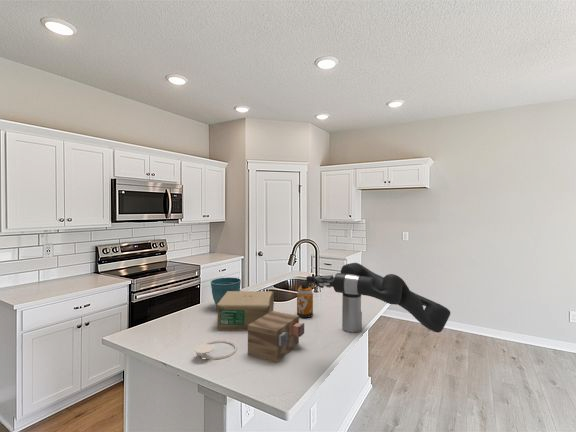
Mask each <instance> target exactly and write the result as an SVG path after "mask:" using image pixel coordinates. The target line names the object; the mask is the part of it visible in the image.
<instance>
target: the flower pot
mask: <svg viewBox="0 0 576 432" xmlns="http://www.w3.org/2000/svg"><path fill="white" fill-rule="evenodd" d="M241 282H242V279H241V278H238V277H233V276H232V277H231V276H230V277H219V278H214V279H211V281H210V288H211V295H212V298H213V299H212V300H213V301H214V305H215V308H216V310H217V304H218V303H219V301H220V300H221V299H222V298H223V296H224V295H225V294H226V292H227V291H241Z"/></svg>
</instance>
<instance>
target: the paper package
mask: <svg viewBox="0 0 576 432" xmlns="http://www.w3.org/2000/svg"><path fill="white" fill-rule="evenodd" d="M274 304H275V292H274V291H265V290H262V291H261V290H260V291H259V290H258V291H257V290H256V291H255V290H252V291H251V290H250V291H249V290H240V291H227V292H226V294H225V295H224V296H223V298H222V299H221V300H220V301H219V303H218V304H217V309H216V311H217V312H216V313H217V331H248V325H249V324H250V323H252V322H254V321H256V320H257V319H259V318H261V317H262V316H264V315H266V314H268V313H269V312H271V311H274V306H275V305H274Z"/></svg>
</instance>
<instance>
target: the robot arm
mask: <svg viewBox="0 0 576 432" xmlns="http://www.w3.org/2000/svg"><path fill="white" fill-rule="evenodd" d="M305 280H306V281H307V282H311V284H312V283H314V286H317V287H319V288H320V289H324V288H325V287H326V288H331V287H332V288H333V290H334V291H335V293H338V294H339V293H340V294H342V297H341V298H342V299H341V301H342V303H341V304H342V309H341V310H342V311H341V312H342V317H341V319H342V321H341V324H342V325H341V327H342V330H343V331H345V332H348V333H358V332H362V331H363V328H362V327H363V311H362V296H367V297H371V298H375V299H377V300H379V301H382V302H384V303H386V304H388V305H397V306H399V307H401V308H403V310H405V311H407V312H408V313H409V314H411V315H412V317H413V318H414V319H416V321H418V322H419V324H421V325H422V326H423V327H425V328H426V329H428V330H430V331H432V332H434V333H439V334H440V333H441V332H442V331H443V330H444V328H445V326H446V324H447V323H448V320H449V318H450V317H451V311H450V309H449V308H447V307H446V306H444V305H442V304H440V303H438V302H436V301H434V300H431V299H428V298H427V297H424V296H422V295H419V294H417V293H415V292H413V291H412V290H411V289H410V287H409V286H408V285H407V283H406V282H405V281H404V279H403V278H402V277H400V276H399V275H397V274H394V273H389V274H386V275H385V276H384V277H383V276H381V275H379V274H377V273H375V272H374V271H372V270H370V269H369V268H367V267H366V266H364V265H362V264H360V263H358V262H351V263H346V264H344V265H343V266H342V267H341V269H340V272H337V273H336V274H335V275H333V274H330V275H318V276H317V275H316V276H311V275H308V276H306V279H305ZM424 307H425V308H424Z"/></svg>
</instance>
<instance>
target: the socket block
mask: <svg viewBox="0 0 576 432" xmlns="http://www.w3.org/2000/svg"><path fill="white" fill-rule="evenodd" d="M294 323H300V316H298V315H297V314H291V313H285V312H280V311H275V310H273V311H271V312H269V313H268V314H266V315H264V316H262V317H261V318H259V319H257V320H256V321H254V322H252V323H250V324H249V325H248V330H247V355H248V356H252V357H255V358H260V359H262V360H263V359H264V360H267V361H269V362H275V363H278V362H279V361H280V360H281V359H282V358H283V357H284V356H286V355H287V354H288V353H289V352H290V351H292V349H294V348H295V347H296V346H297V345H298V344H299V343H300V337H298V336H296V335H292V325H293V324H294ZM282 332H285V333H286V332H288V343H287V344H286V345H285V346H284V347H281V346H279V334H281V333H282Z"/></svg>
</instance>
